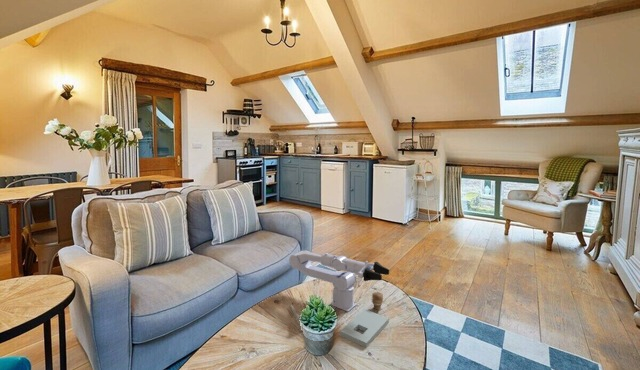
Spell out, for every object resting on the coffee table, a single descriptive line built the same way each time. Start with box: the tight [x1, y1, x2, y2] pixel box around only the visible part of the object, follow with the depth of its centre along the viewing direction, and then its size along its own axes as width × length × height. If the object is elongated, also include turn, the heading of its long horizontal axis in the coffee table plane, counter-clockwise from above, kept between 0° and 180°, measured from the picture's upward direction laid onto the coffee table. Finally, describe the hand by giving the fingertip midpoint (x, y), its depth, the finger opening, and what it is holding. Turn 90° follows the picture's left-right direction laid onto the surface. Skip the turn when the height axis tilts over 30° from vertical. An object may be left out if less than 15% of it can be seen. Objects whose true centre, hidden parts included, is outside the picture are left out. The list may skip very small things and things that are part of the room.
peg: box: [371, 291, 384, 311], centre depth 145 cm, size 5×5×7 cm
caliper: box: [289, 304, 303, 333], centre depth 137 cm, size 20×1×6 cm, turn 18°
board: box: [339, 308, 390, 348], centre depth 130 cm, size 12×20×2 cm, turn 143°
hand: (385, 274), depth 133 cm, fingers open, 7 cm apart
